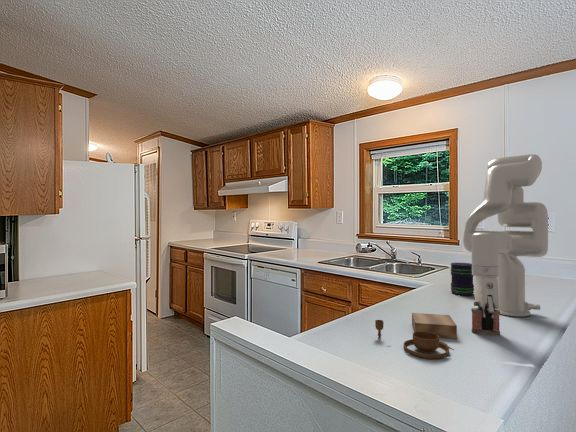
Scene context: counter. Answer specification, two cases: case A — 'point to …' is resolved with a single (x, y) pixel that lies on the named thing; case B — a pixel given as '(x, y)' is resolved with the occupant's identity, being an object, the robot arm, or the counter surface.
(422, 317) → the walnut base
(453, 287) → the storage jar
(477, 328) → the lighter
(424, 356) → the place setting
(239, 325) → the counter surface
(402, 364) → the counter surface
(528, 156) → the robot arm
